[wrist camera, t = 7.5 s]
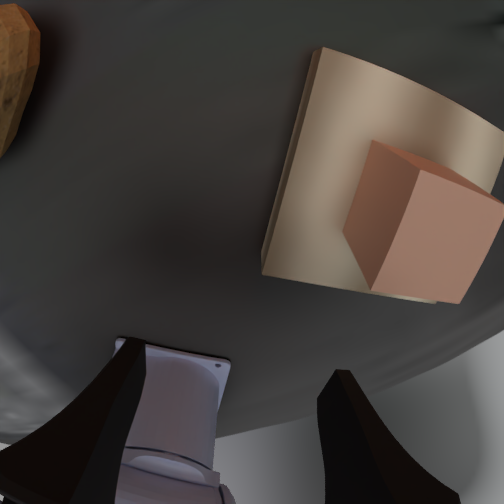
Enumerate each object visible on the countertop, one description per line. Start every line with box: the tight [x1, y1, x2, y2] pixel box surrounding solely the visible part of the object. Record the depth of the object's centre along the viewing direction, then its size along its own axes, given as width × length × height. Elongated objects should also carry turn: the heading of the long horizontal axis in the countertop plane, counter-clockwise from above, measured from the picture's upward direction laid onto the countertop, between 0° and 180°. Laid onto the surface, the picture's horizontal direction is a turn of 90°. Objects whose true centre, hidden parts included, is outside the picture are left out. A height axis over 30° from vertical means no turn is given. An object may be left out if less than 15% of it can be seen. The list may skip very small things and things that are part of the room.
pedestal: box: [261, 47, 504, 304], centre depth 16 cm, size 12×12×3 cm
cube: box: [342, 140, 504, 304], centre depth 13 cm, size 5×5×5 cm
